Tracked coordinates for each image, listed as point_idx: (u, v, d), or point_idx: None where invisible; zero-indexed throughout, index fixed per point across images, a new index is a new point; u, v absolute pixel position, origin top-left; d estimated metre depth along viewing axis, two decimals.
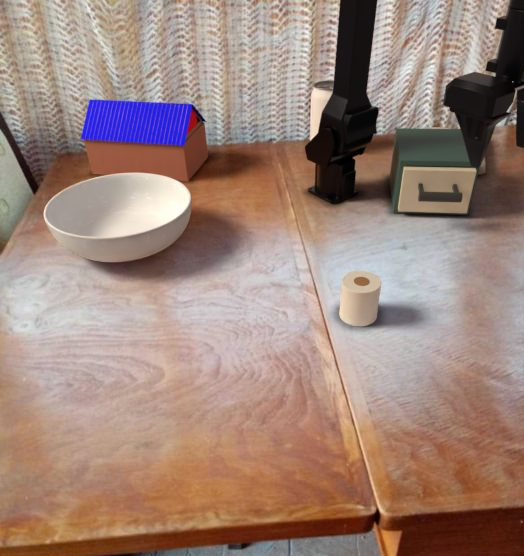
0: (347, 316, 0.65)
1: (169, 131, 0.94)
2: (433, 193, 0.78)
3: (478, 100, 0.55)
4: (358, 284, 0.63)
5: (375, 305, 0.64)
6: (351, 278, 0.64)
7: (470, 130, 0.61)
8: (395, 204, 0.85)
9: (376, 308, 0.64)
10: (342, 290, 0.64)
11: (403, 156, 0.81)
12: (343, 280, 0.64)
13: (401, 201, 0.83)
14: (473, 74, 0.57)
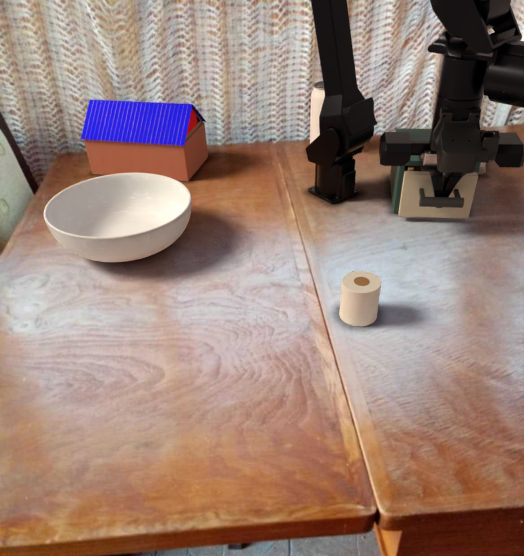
0: (347, 316, 0.65)
1: (169, 131, 0.94)
2: (434, 198, 0.76)
3: (380, 151, 0.74)
4: (358, 284, 0.63)
5: (375, 305, 0.64)
6: (351, 278, 0.64)
7: None
8: (395, 204, 0.85)
9: (376, 308, 0.64)
10: (342, 290, 0.64)
11: None
12: (343, 280, 0.64)
13: (402, 206, 0.82)
14: (402, 133, 0.75)
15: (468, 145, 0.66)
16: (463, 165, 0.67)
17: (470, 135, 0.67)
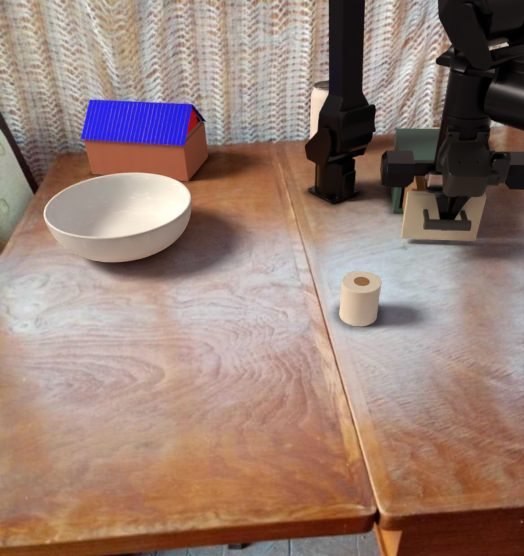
0: (347, 316, 0.65)
1: (169, 131, 0.94)
2: (439, 221, 0.71)
3: (382, 171, 0.69)
4: (358, 284, 0.63)
5: (375, 305, 0.64)
6: (351, 278, 0.64)
7: None
8: (395, 204, 0.85)
9: (376, 308, 0.64)
10: (342, 290, 0.64)
11: None
12: (343, 280, 0.64)
13: (404, 227, 0.77)
14: (405, 152, 0.70)
15: (476, 167, 0.61)
16: (471, 188, 0.62)
17: (479, 156, 0.62)
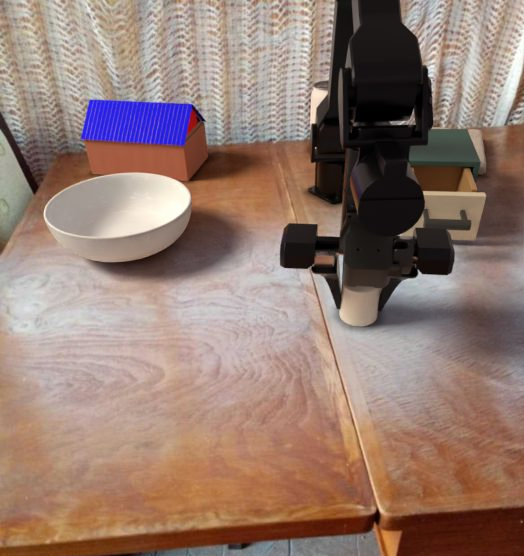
0: (347, 316, 0.65)
1: (169, 131, 0.94)
2: (439, 220, 0.72)
3: None
4: None
5: (375, 305, 0.64)
6: None
7: None
8: None
9: (376, 308, 0.64)
10: (342, 290, 0.64)
11: None
12: None
13: None
14: (309, 226, 0.61)
15: (376, 257, 0.53)
16: (371, 280, 0.54)
17: (380, 243, 0.54)
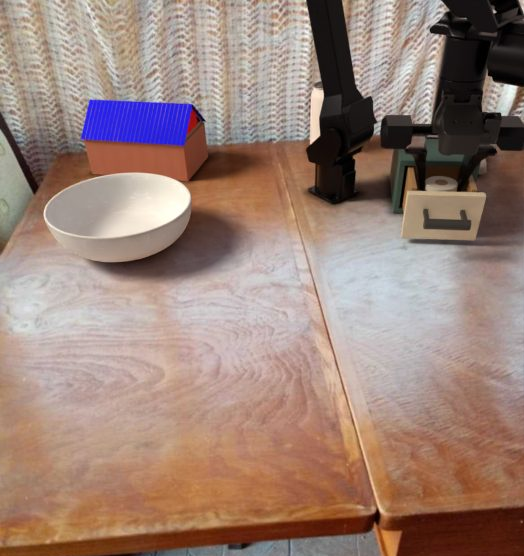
0: None
1: (169, 131, 0.94)
2: (439, 220, 0.72)
3: (381, 134, 0.73)
4: (439, 184, 0.77)
5: None
6: (432, 180, 0.78)
7: None
8: (395, 204, 0.85)
9: None
10: (425, 190, 0.78)
11: (403, 156, 0.81)
12: (426, 182, 0.78)
13: (404, 227, 0.77)
14: (403, 116, 0.74)
15: (470, 127, 0.66)
16: (464, 147, 0.67)
17: (472, 117, 0.67)
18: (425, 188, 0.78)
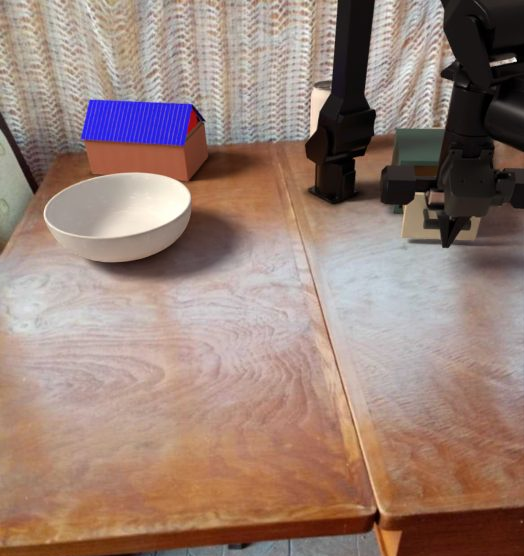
0: None
1: (169, 131, 0.94)
2: None
3: (381, 187, 0.66)
4: None
5: None
6: None
7: None
8: None
9: None
10: None
11: (403, 156, 0.81)
12: None
13: (404, 227, 0.77)
14: (406, 167, 0.67)
15: (480, 187, 0.59)
16: (473, 209, 0.60)
17: (482, 175, 0.60)
18: None
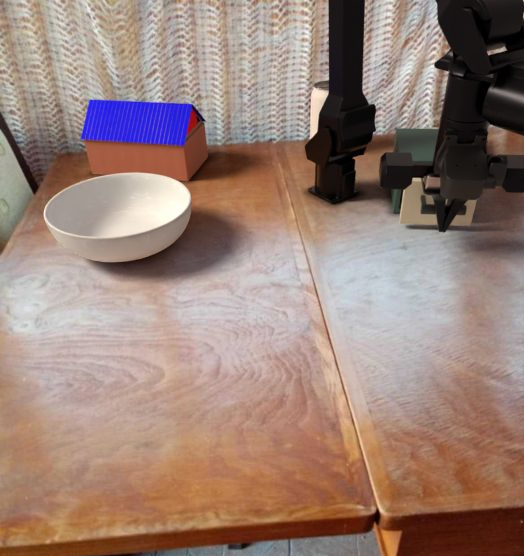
0: None
1: (169, 131, 0.94)
2: None
3: (380, 173, 0.69)
4: None
5: None
6: None
7: None
8: (395, 204, 0.85)
9: None
10: None
11: None
12: None
13: (403, 213, 0.80)
14: (404, 154, 0.70)
15: (474, 170, 0.62)
16: (468, 191, 0.63)
17: (476, 160, 0.63)
18: None
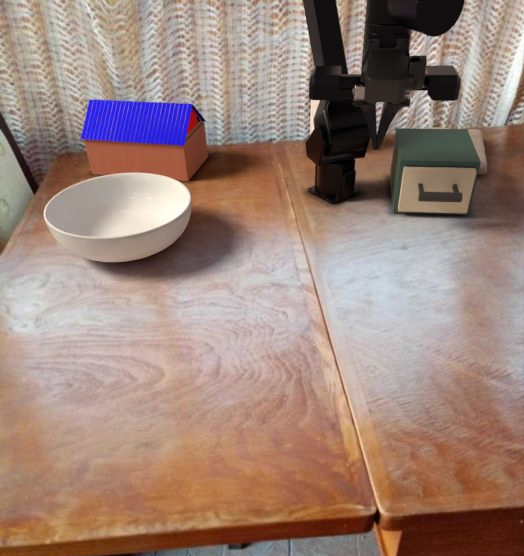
0: None
1: (169, 131, 0.94)
2: (433, 193, 0.78)
3: None
4: None
5: None
6: None
7: None
8: (395, 204, 0.85)
9: None
10: None
11: (403, 156, 0.81)
12: None
13: (401, 201, 0.83)
14: (334, 67, 0.71)
15: (394, 71, 0.62)
16: (389, 93, 0.63)
17: (397, 62, 0.63)
18: None
